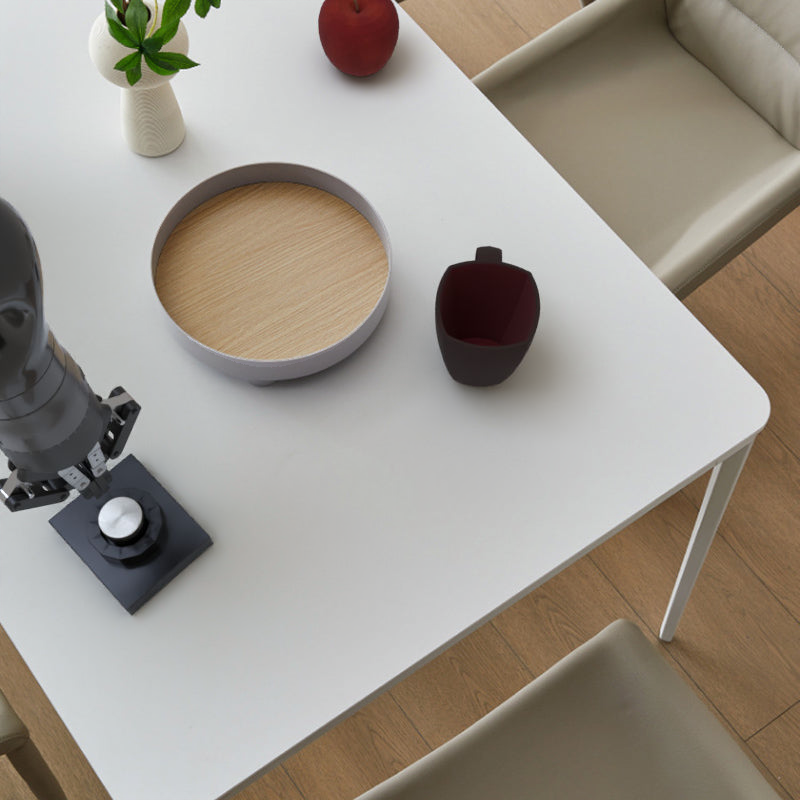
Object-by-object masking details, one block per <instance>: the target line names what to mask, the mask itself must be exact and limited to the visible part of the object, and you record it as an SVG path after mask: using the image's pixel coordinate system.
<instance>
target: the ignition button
mask: <svg viewBox="0 0 800 800" xmlns="http://www.w3.org/2000/svg"><path fill="white" fill-rule="evenodd" d="M98 523H99V527H100V529H101V530H102V532H103V533H104V534H105V535H106V537H107V538H108V539H109V540H110V541H112V542H113V543H116V544H120V545H125V544H130V543H132V542H134V541H136V540H137V539H139V538H140V537H141V536H142V534H143V533H144V531H145V529H146V525H147V519H146V515H145V513H144V512H143V510H142V509H141V507H140V506H139V504H138V503H137V502H136V501H135V500H133V499H131V498H128V497H117V498H114V499H112V500H110V501H108V502H107V503H106V504H105V505H104V506H103V507H102V509H101V511H100V513H99V517H98Z"/></svg>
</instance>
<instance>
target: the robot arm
mask: <svg viewBox="0 0 800 800" xmlns="http://www.w3.org/2000/svg"><path fill="white" fill-rule="evenodd" d="M43 276H44V275H43V269H42V261H41V257H40V253H39V249H38V246H37V243H36V240H35V237H34V235H33V233H32V231H31V229H30V227H29V225H28V223H27V221H26V220H25V218H24V217H23V215H22V214H21V213H20V211H19V210H18V209H17V208H16V207H15V206H14V205H13V204H12V203H11V202H10V201H8V200H7V199H5V198H4V197H2V196H1V195H0V451H1V452H2V453H3V454H4V456H6V458H7V468H8V470H9V471H10V472H11V473H9V475H8V477H4V478H0V501H1V503H2V504H3V505H4V506H5V507H6V508H7V509H8V510H9V512H11V513H15V512H22V511H27V510H32V509H37V508H41V507H46V506H52V505H55V504H60V503H63V502H65V501H66V500H67V499H68V498H69V497H70V495H71V491H72V490H76V491H77V492H78V493H79V495H80V494H81V495H82V496H83V497H84V498H85V499H87V500H89V499H90V498H92V497H93V496H94V497H95V498H96V499H97V500H98V499H99V498H100V497H101V496H103V495H104V494H105V493H106V492H107V491H109V490H110V489H111V488H110V487H109V485H108V484H109V483H110V482H111V481H112V478H113V477H112V475H111V474H110V472H109V471H110V470H108V466H107V465H106V464H107V463H108V461H109V460H116V459H118V458H119V457H120V456H121V455H122V453H123V451H124V449H125V447H126V444H127V442H128V441H129V438H130V435H131V433H132V431H133V428H134V427H135V424H136V422H137V420H138V417H139V415H140V413H141V410H142V406H141V405H140V404H139V403H138V402H137V401H136V400H135V398H133V397H132V395H130V394H129V393H128V392H127V390H126V389H125V388H124V387H123V386H121V385H118V386H115V387H113V389H112V390H111V391H110V393H109V395H108V397H107V398H105V399H103V397H102V396H101V395H99V394H96V393H95V392H94V391H93V388H92V387H91V386H90V384H89V382H88V380H87V379H86V374H85V372H84V371H83V369H82V367H81V366H80V365H79V364H78V363H77V362H76V361H75V359H74V357H73V356H72V355H71V353H70V352H69V351H68V350H67V349H66V348H65V347H64V346H63V345H62V344H61V343H60V341H59V339H58V338H57V336H56V334H55V333H54V331H53V330H52V328H51V326H50V325H49V323H48V321H47V320H46V316H45V292H44V291H45V290H44V289H45V288H44V277H43ZM109 433H111V434H112V436H113V437H112V436H110V434H109ZM102 492H103V493H104V494H103V493H102Z"/></svg>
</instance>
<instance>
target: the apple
mask: <svg viewBox="0 0 800 800" xmlns="http://www.w3.org/2000/svg"><path fill="white" fill-rule="evenodd" d="M317 29H318V35H319V37H318V38H319V41H320V45H321V48H322V50H323V53H324V54H325V56H326V58H327V59H328V61H329V62H330V64H332V65H333V67H335V68H336V69H337V70H339V71H340V72H342V73H345V74H347V75H350V76H355V77H366V76H370V75H373V74H376V73H377V72H379V71H380V70H382V69H383V68H384V67H385V66H386V65H387V64H388V62H389V61H390V59H391V57H392V56H393V53H394V51H395V48H396V46H397V43H398V39H399V34H400V18H399V13H398V11H397V7H396V6H395V3H394V2H393V0H324V1H323V2H322V4H321V7H320V10H319V13H318V19H317Z"/></svg>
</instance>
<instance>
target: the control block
mask: <svg viewBox="0 0 800 800" xmlns="http://www.w3.org/2000/svg"><path fill="white" fill-rule="evenodd" d="M108 471H109V472H110V474H111V475H112V477H113V478H112V481H111V482H110V483H109V484H108V485H109V487H110V488H111V489H110V490H109V491H107V492H106V493H105V494H104V493H103V492H102V493H103V494H104V495H103V496H101V497H100V498H99V499H98V500H97V499H96V498H95V497H94V496H93V497H92V498H90V499H89V500H87V499H85V498H84V497H83V496H82V495H81V494H80V493H79V495H78V496H76V497H75V498H74V499H73V500H72V501H70V502H69V503H67V505H65V506H64V507H63V508H62V509H60V511H58V512H57V513H56V514H55V515H53V516H52V517H51V518H50V519H49V520H47V523H49V525H50V526H51V527H52V528H53V529H54V530H55V531H56V533H57V534H58V535H59V537H61V538H62V539H63V540H64V541H65V543H66V545H68V546H69V547H70V548H71V550H72V551H73V552H74V553H75V554H76V555H77V556H78V558H79V559H80V560H81V561H82V562H83V563H84V564H85V566H87V568H88V569H89V570H90V572H92V573H93V575H94V576H95V577H96V578H97V579H98V580H99V581H100V582H101V584H102V585H103V586H104V587H105V588H106V589H107V591H108V592H110V594H111V595H112V596H113V597H114V599H115V600H116V601H117V602H118V603H119V604H120V606H122V608H124V610H125V611H126V612H127V613H128V614H129V615H130V616H133V615H134V614H135V613H137V612H138V611H139V610H140V609H141V608H142V607H144V605H146V604H147V603H148V602H149V601H150V600H151V599H153V597H155V596H157V594H158V593H160V592H161V591H162V590H163V589H164V588H165V587H166V586H168V585H169V583H171V581H173V580H174V579H175V578H176V577H178V575H180V574H182V572H183V571H184V570H186V568H188V567H189V565H191V564H192V563H193V562H194V561H196V560H197V559H198V558H199V557H200V556H201V555H203V553H205V552H206V551H207V550H208V549H210V547H211V546H212V545H213V544H214V541H213V539H212V538H211V536H210V535H209V534H208V533H207V532H206V531H205V529H204V528H203V527H202V526H201V525H200V524H199V523H198V522H197V521H196V520H195V519H194V517H192V516H191V515H190V514H189V512H188V511H187V510H186V509H185V508H184V507H183V506H182V505H181V504H180V503H179V502H178V501H177V500H176V499H175V498H174V497H173V495H171V493H169V491H168V490H167V489H166V488H165V487H164V486H163V485H162V484H161V483H160V482H159V481H158V480H157V478H155V476H154V475H153V474H152V473H151V472H150V471H149V469H147V468H146V467H145V466H144V465H143V464H142V463H141V462H140V460H139V459H137V458H136V456H135V455H134V454H133V453H130V452H129V454H127V455H126V456H125V457H124V458H123V459H121V460H120V461H119V462H118V463H117V464H115V465H114V466H113V467H112V468H111V469H109V470H108ZM117 497H128V498H131V499H133V500H135V501H136V502H137V503H138V504H139V506H140V507H141V509H142V510H143V512H144V513H145V515H146V519H147V525H146V529H145V531H144V533H143V534H142V536H141V537H140V538H139V539H137V540H136V541H134V542H132V543H130V544H125V545H120V544H116V543H113V542H112V541H110V540H109V539H108V538H107V537H106V535H105V534H104V533H103V532H102V530H101V529H100V527H99V523H98V517H99V513H100V511H101V509H102V507H103V506H104V505H105V504H106V503H107V502H108V501H110V500H112V499H114V498H117Z"/></svg>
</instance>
